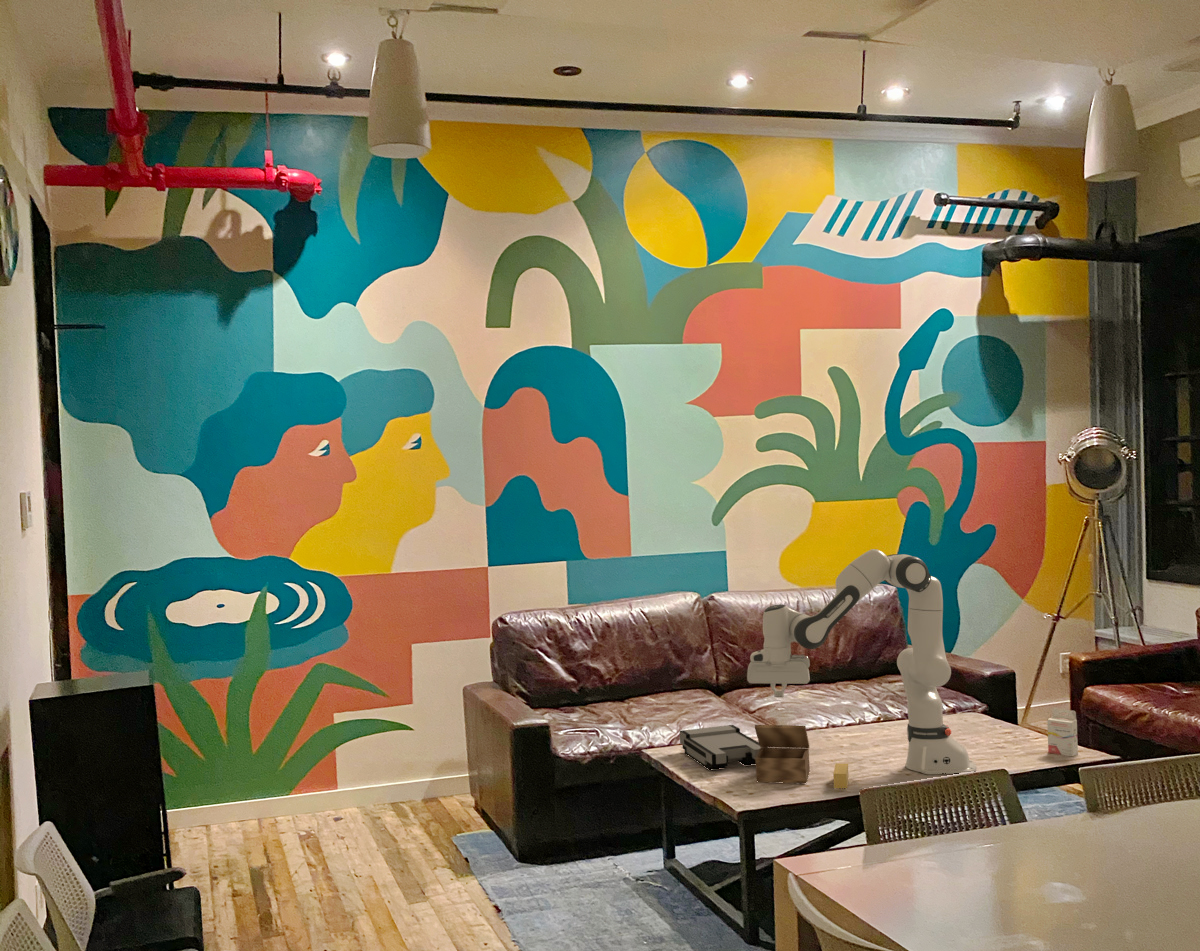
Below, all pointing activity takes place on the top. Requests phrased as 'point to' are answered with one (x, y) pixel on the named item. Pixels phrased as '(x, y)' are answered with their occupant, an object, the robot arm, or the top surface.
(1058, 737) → the ink cartridge box
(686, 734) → the game console
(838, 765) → the yellow block
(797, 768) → the wooden box
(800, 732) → the box lid
